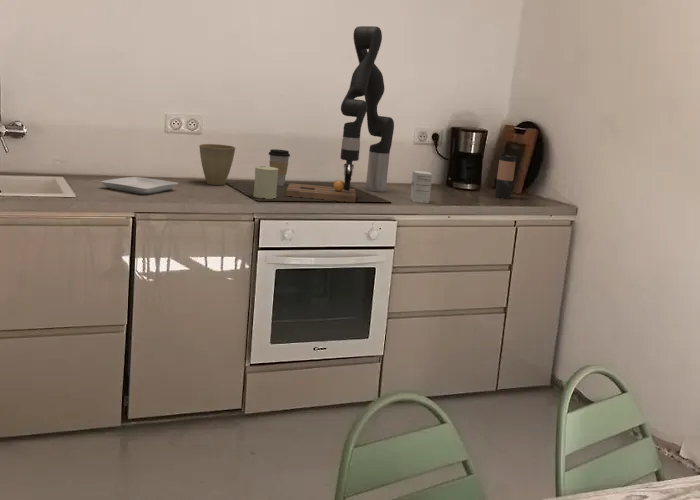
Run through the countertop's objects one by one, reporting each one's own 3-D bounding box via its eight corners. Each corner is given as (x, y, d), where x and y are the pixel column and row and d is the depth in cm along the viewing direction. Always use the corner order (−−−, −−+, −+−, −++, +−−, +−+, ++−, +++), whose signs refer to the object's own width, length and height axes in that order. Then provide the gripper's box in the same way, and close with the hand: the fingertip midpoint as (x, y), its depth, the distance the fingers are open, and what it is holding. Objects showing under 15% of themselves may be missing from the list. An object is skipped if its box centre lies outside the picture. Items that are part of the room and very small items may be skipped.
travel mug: (511, 197, 380) (517, 155, 375) (509, 199, 372) (515, 157, 368) (495, 195, 382) (501, 153, 377) (493, 197, 375) (498, 155, 370)
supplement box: (409, 199, 345) (412, 170, 342) (426, 200, 346) (429, 171, 343) (412, 202, 338) (415, 172, 335) (429, 203, 338) (432, 173, 336)
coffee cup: (284, 187, 345) (287, 152, 342) (263, 184, 347) (265, 150, 344) (290, 184, 354) (292, 150, 351) (270, 182, 356) (272, 148, 353)
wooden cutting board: (289, 189, 341) (289, 183, 340) (354, 195, 342) (354, 189, 341) (286, 196, 321) (286, 190, 321) (355, 202, 322) (355, 196, 322)
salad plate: (99, 189, 299) (99, 180, 299) (134, 184, 319) (134, 175, 318) (146, 197, 292) (146, 188, 291) (179, 191, 311) (179, 182, 310)
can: (266, 194, 322) (268, 164, 319) (281, 198, 315) (283, 168, 313) (248, 195, 315) (250, 165, 313) (262, 199, 309) (265, 168, 306)
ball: (337, 192, 334) (331, 183, 333) (346, 186, 333) (340, 177, 332) (337, 194, 329) (331, 185, 328) (346, 187, 329) (340, 179, 328)
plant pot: (204, 179, 344) (205, 142, 341) (237, 183, 342) (239, 146, 339) (192, 184, 330) (194, 145, 326) (227, 188, 328) (229, 149, 325)
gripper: (360, 150, 321) (356, 193, 325) (359, 147, 334) (355, 188, 338) (341, 149, 321) (337, 191, 324) (341, 146, 334) (337, 187, 337)
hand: (346, 190), depth 331 cm, fingers closed
